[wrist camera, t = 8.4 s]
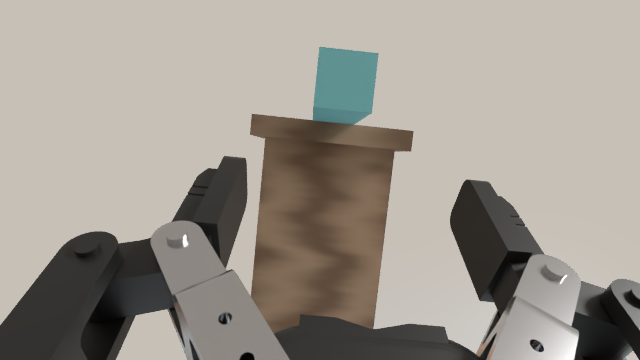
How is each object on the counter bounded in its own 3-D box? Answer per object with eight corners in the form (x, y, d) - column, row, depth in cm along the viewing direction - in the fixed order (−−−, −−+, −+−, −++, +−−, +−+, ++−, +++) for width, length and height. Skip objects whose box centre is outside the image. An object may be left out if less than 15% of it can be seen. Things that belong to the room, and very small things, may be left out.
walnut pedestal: (182, 540, 26) (217, 107, 24) (231, 393, 42) (255, 125, 40) (394, 554, 27) (450, 132, 24) (363, 404, 43) (395, 140, 40)
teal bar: (313, 106, 18) (319, 46, 18) (312, 132, 42) (315, 106, 42) (371, 112, 18) (378, 53, 18) (337, 134, 42) (340, 109, 42)
